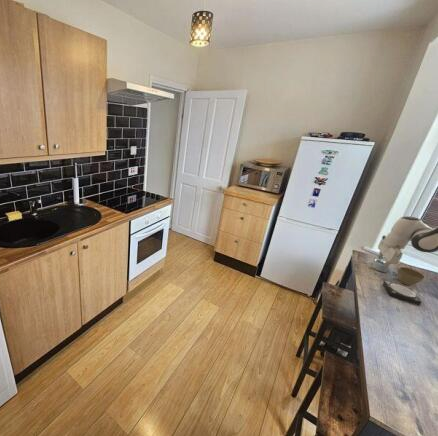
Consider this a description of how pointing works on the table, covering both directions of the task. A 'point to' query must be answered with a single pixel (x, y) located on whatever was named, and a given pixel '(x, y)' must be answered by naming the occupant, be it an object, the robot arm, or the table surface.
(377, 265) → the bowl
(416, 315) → the table surface
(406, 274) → the flower pot
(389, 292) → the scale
